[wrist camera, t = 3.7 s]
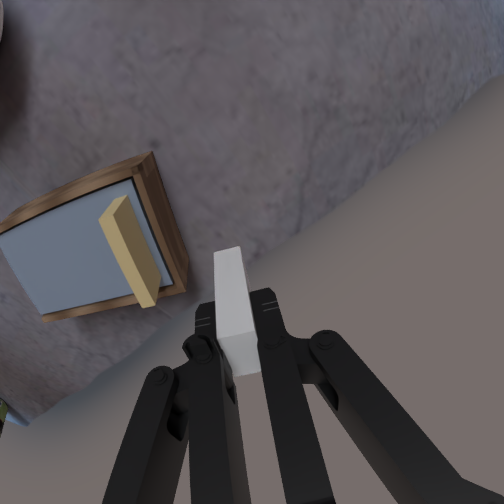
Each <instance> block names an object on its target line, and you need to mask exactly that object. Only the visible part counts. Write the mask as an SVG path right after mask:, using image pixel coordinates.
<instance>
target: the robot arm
mask: <svg viewBox="0 0 504 504" xmlns="http://www.w3.org/2000/svg"><path fill="white" fill-rule="evenodd" d="M214 276H215V301H213V302H208V303H203V304H200V305H199V307H198V309H197V310H196V312H195V313H196V314H195V334H193V335H191V336H190V337H188V338H187V339H186V340H185V342H184V343H183V346H182V348H183V350H184V352H185V353H186V355H187V357H188V358H189V361H188V362H186V363H185V364H183V365H182V366H179V367H177V368H175V369H173V370H172V369H171V368H170V367H167V366H158V367H156V368H154V369H153V370H151V371H150V372H149V373H148V375H147V377H146V379H145V382H144V384H143V387H142V389H141V392H140V395H139V397H138V400H137V403H136V405H135V408H134V411H133V413H132V416H131V419H130V421H129V424H128V427H127V430H126V433H125V435H124V438H123V441H122V444H121V447H120V449H119V453H118V455H117V458H116V461H115V464H114V467H113V470H112V473H111V476H110V479H109V483H108V486H107V489H106V492H105V495H104V498H103V502H102V504H173V501H174V497H175V493H176V489H177V485H178V481H179V476H180V472H181V468H182V464H183V459H184V456H185V452H186V448H187V444H188V440H189V463H190V465H189V466H190V488H191V504H251V498H250V492H249V485H248V478H247V471H246V464H245V457H244V449H243V441H242V434H241V426H240V418H239V410H238V401H237V393H236V386H235V384H234V382H233V377H232V373H233V375H234V377H237V376H242V375H246V374H251V373H256V372H260V371H261V372H262V377H263V382H264V388H265V393H266V399H267V404H268V409H269V415H270V420H271V426H272V431H273V436H274V441H275V447H276V452H277V457H278V462H279V468H280V473H281V478H282V483H283V488H284V493H285V498H286V503H287V504H336V502H335V499H334V496H333V492H332V489H331V485H330V481H329V477H328V474H327V470H326V467H325V463H324V459H323V456H322V452H321V448H320V445H319V442H318V438H317V434H316V430H315V427H314V424H313V420H312V416H311V413H310V409H309V406H308V402H307V399H306V395H305V392H304V388H303V385H302V384H314V385H315V386H316V388H317V389H318V391H319V392H320V394H321V395H322V396H323V398H324V400H325V401H326V402H327V404H328V405H329V407H330V408H331V410H332V411H333V413H334V414H335V416H336V417H337V418H338V420H339V421H340V423H341V424H342V425H343V427H344V428H345V430H346V431H347V433H348V434H349V436H350V437H351V438H352V440H353V441H354V443H355V444H356V446H357V447H358V449H359V450H360V451H361V453H362V454H363V456H364V457H365V458H366V460H367V461H368V463H369V464H370V466H371V467H372V468H373V470H374V471H375V472H376V474H377V475H378V477H379V478H380V479H381V481H382V482H383V483H384V485H385V486H386V488H387V489H388V491H389V492H390V493H391V495H392V496H393V497H394V499H395V500H396V501H397V503H398V504H504V497H503V496H502V495H500V494H497V493H495V492H493V491H490V490H488V489H485V488H483V487H481V486H478V485H476V484H474V483H472V482H470V481H467V480H465V479H463V478H462V477H461V476H460V475H459V474H458V473H457V471H456V470H455V469H454V468H453V467H452V465H451V464H450V463H449V462H448V461H447V460H446V458H445V457H444V456H443V455H442V454H441V452H440V451H439V450H438V449H437V447H436V446H435V445H434V444H433V443H432V442H431V440H430V439H429V438H428V437H427V436H426V434H425V433H424V432H423V431H422V430H421V429H420V427H419V426H418V425H417V424H416V423H415V421H414V420H413V419H412V418H411V417H410V415H409V414H408V413H407V412H406V411H405V410H404V409H403V407H402V406H401V405H400V404H399V403H398V401H397V400H396V399H395V398H394V397H393V396H392V394H391V393H390V392H389V391H388V390H387V389H386V387H385V386H384V385H383V384H382V383H381V382H380V380H379V379H378V378H377V377H376V376H375V375H374V374H373V372H371V370H370V369H369V368H368V367H367V365H366V364H365V363H364V362H363V361H362V360H361V359H360V357H359V356H358V355H357V354H356V353H355V352H354V351H353V350H352V348H351V347H350V346H349V345H348V344H347V342H346V341H345V340H344V339H343V338H342V337H341V336H340V335H339V334H338V333H337V332H335V331H332V330H322V331H319V332H317V333H315V334H314V335H313V336H312V337H311V339H301V338H296V337H293V336H291V335H289V333H288V332H287V331H286V329H285V326H284V322H283V319H282V315H281V312H280V309H279V305H278V302H277V299H276V295H275V293H274V292H273V291H272V290H271V289H270V288H264V289H260V290H256V291H252V292H251V287H250V283H249V279H248V275H247V271H246V268H245V264H244V260H243V256H242V253H241V249H240V246H238V247H234V248H230V249H226V250H222V251H218V252H214Z"/></svg>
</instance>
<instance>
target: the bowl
mask: <svg viewBox="0 0 504 504" xmlns="http://www.w3.org/2000/svg"><path fill="white" fill-rule="evenodd" d="M3 14H4V12H3V3H2V1H1V0H0V41H1V36H2V31H3Z"/></svg>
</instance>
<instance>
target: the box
mask: <svg viewBox="0 0 504 504" xmlns="http://www.w3.org/2000/svg"><path fill="white" fill-rule="evenodd" d="M131 176H133V177H134V180H135V183H136V186H137V189H138V191H139V194H140V197H141V200H142V202H143V205H144V208H145V210H146V213H147V216H148V218H149V221H150V223H151V226H152V229H153V231H154V234H155V236H156V239H157V241H158V244H159V246H160V248H161V251H162V253H163V256H164V258H165V260H166V263H167V265H168V267H169V270H170V272H171V274H172V277H173V284H171V285H167V286H162V287H159V290H158V295H157V298H162V297H166V296H170V295H175V294H179V293H183V292H186V286H187V274H188V263H189V256H188V254H187V251H186V248H185V246H184V243H183V240H182V238H181V235H180V232H179V229H178V227H177V224H176V221H175V218H174V215H173V212H172V210H171V207H170V204H169V201H168V198H167V195H166V192H165V189H164V186H163V183H162V180H161V177H160V174H159V171H158V168H157V165H156V161H155V158H154V155H153V152H152V151H150V152H147V153H144V154H141V155H138V156H136V157H133V158H130V159H127V160H124V161H122V162H119V163H116V164H114V165H111V166H109V167H106V168H104V169H101V170H99V171H96V172H94V173H91V174H89V175H86V176H84V177H82V178H79V179H77V180H75V181H73V182H70V183H68V184H66V185H64V186H61V187H59V188H57V189H55V190H53V191H51V192H49V193H47V194H45V195H43V196H41V197H39V198H37V199H35V200H33V201H31V202H29V203H27V204H25V205H23V206H21V207H19V208H17V209H16V210H15V211H14V212H13V213H11V214H10V215H9V216H8V217H7V218H5V219H4V220H3V221H2V222H1V223H0V233H2V232H4V231H6V230H8V229H10V228H11V227H13V226H15V225H17V224H19V223H21V222H23V221H25V220H27V219H29V218H32V217H34V216H36V215H38V214H40V213H42V212H44V211H46V210H49V209H51V208H53V207H55V206H58V205H60V204H62V203H64V202H67V201H69V200H71V199H74V198H76V197H79V196H81V195H84V194H86V193H89V192H91V191H94V190H96V189H99V188H101V187H104V186H107V185H109V184H112V183H115V182H117V181H120V180H123V179H126V178H129V177H131ZM135 303H139V302H138V300H137V298H136V296H135V294H134V293H133V294H129V295H125V296H120V297H116V298H112V299H108V300H103V301H99V302H95V303H90V304H86V305H82V306H77V307H73V308H69V309H64V310H60V311H55V312H51V313H46V314H44V315H43V317H42V321H43V322H44V323H46V322H51V321H56V320H61V319H65V318H70V317H75V316H80V315H85V314H89V313H94V312H99V311H103V310H108V309H113V308H117V307H122V306H126V305H131V304H135Z"/></svg>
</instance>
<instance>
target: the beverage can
mask: <svg viewBox="0 0 504 504" xmlns="http://www.w3.org/2000/svg"><path fill="white" fill-rule="evenodd" d="M7 411H8V407H7V405H6V404H5V402H4V401H3V400H2V399H0V437H1V433H2V429H3V425H4V422H5V418H6V414H7Z"/></svg>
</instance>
